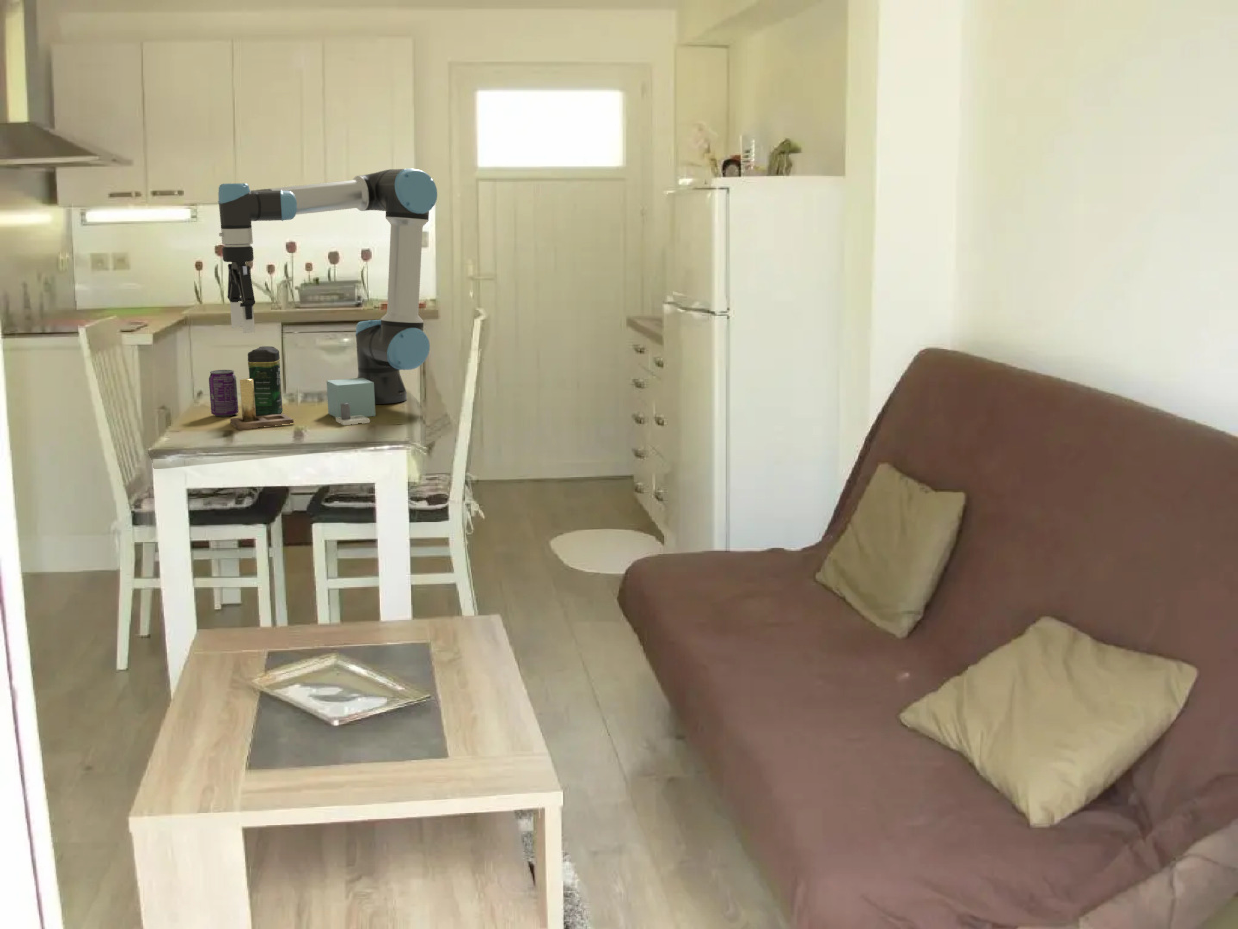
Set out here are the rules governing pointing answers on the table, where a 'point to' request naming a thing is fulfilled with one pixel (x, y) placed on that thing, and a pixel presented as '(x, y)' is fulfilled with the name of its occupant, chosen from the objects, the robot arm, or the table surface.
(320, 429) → the table surface
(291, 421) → the brown grid frame
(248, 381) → the brass peg
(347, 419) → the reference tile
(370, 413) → the block
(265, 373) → the coffee jar
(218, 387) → the beverage can
